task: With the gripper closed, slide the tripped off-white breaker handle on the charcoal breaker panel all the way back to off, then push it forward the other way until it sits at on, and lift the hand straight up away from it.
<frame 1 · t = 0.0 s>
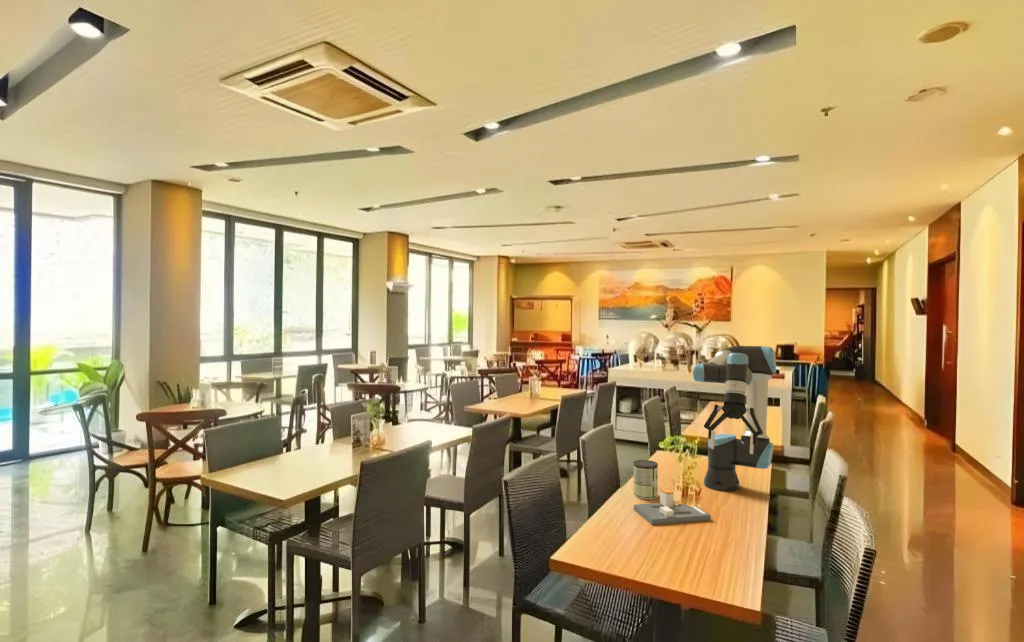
hand: (731, 451, 197), 28 cm above the table, tool tilted 20°, fingers open, 13 cm apart
breaker panel: (671, 514, 209), on the table
breaker handle: (666, 497, 213), point 5 cm above the table, slide at 4.0 cm
coffee can: (645, 496, 232), on the table
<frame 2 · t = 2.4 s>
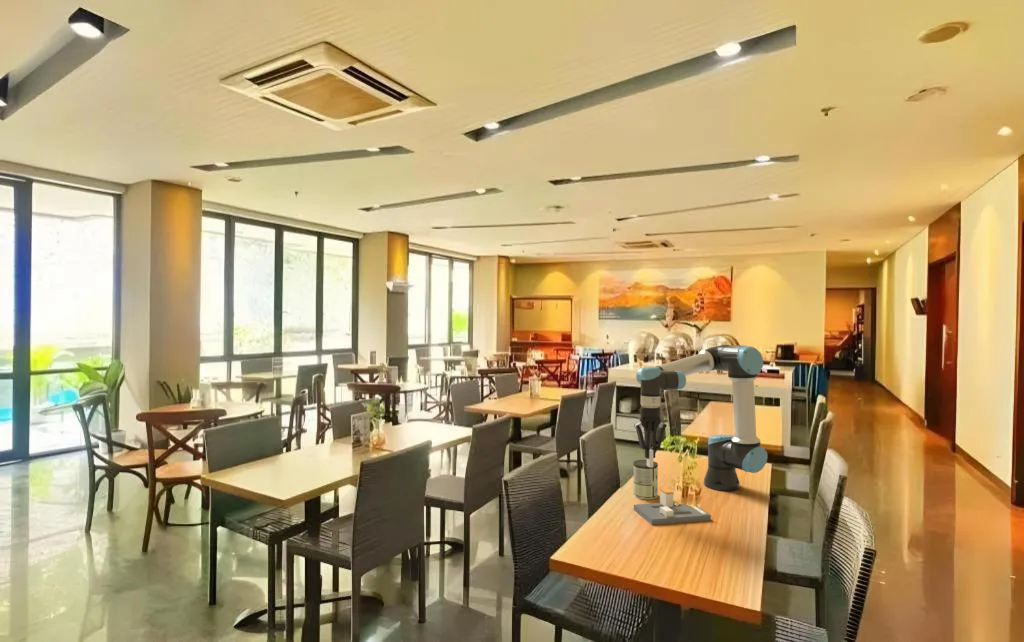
hand: (649, 466, 212), 18 cm above the table, tool pointing down, fingers closed
nothing on the table moved.
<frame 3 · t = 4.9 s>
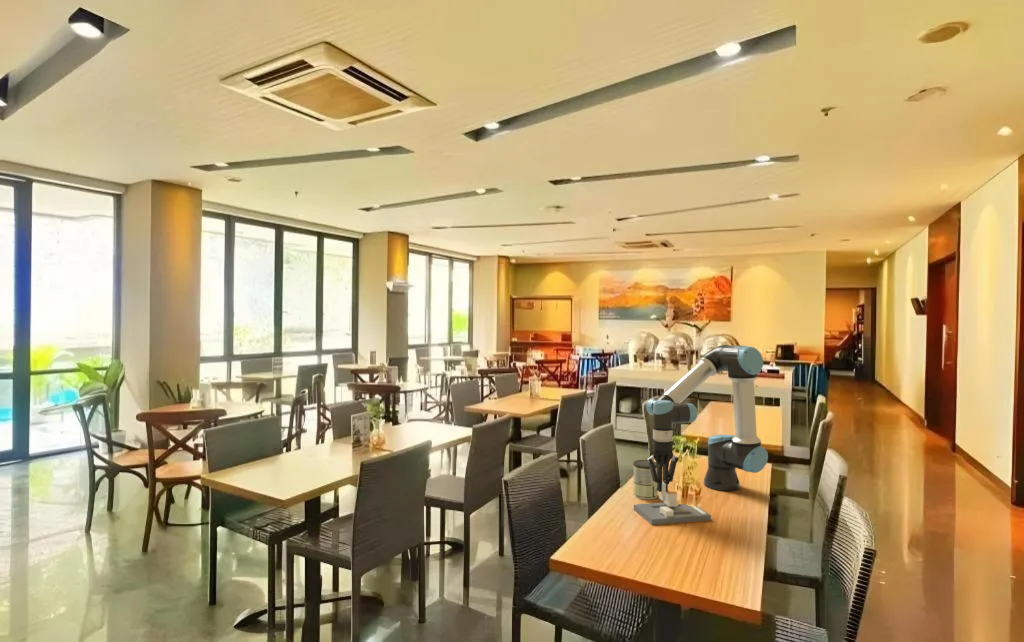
hand: (662, 499, 213), 5 cm above the table, tool pointing down, fingers closed
breaker handle: (670, 497, 214), point 5 cm above the table, slide at 2.4 cm, touching gripper
everything else where it was.
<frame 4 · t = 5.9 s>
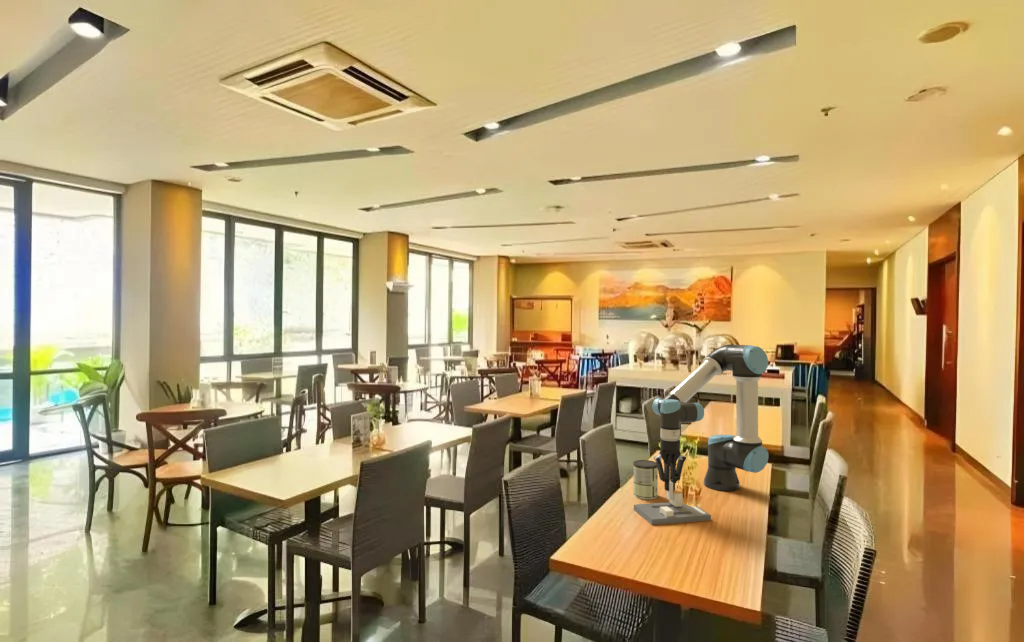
hand: (669, 498, 214), 5 cm above the table, tool pointing down, fingers closed
breaker handle: (675, 496, 214), point 5 cm above the table, slide at -0.1 cm
everything else where it was.
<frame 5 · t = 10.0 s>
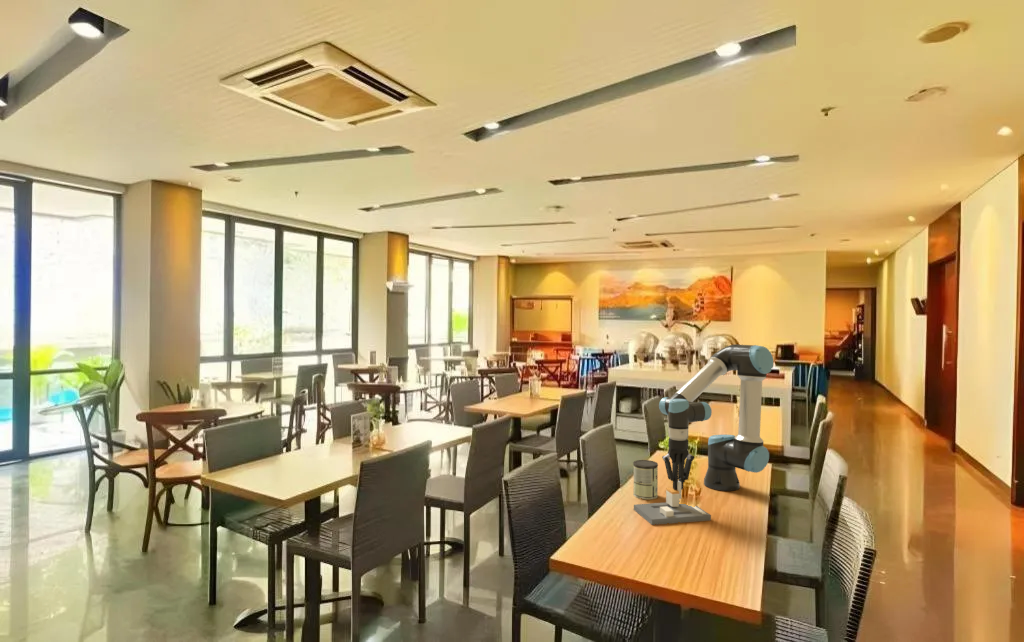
hand: (677, 497, 214), 5 cm above the table, tool pointing down, fingers closed
breaker handle: (672, 497, 214), point 5 cm above the table, slide at 1.3 cm, touching gripper
everything else where it was.
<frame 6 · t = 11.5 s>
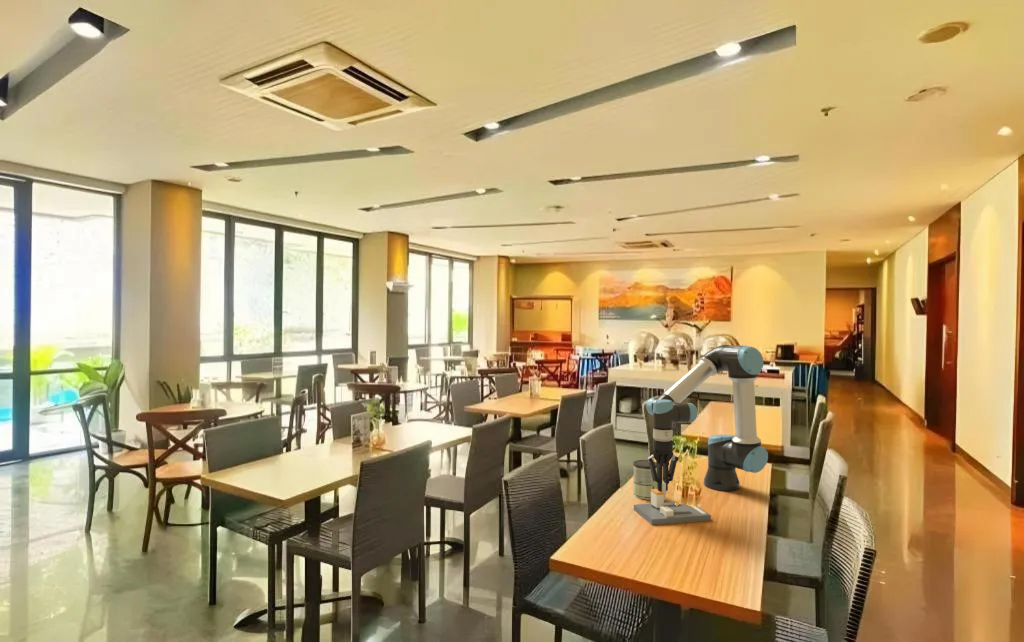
hand: (662, 498, 213), 5 cm above the table, tool pointing down, fingers closed
breaker handle: (657, 498, 213), point 5 cm above the table, slide at 7.9 cm, touching gripper
everything else where it was.
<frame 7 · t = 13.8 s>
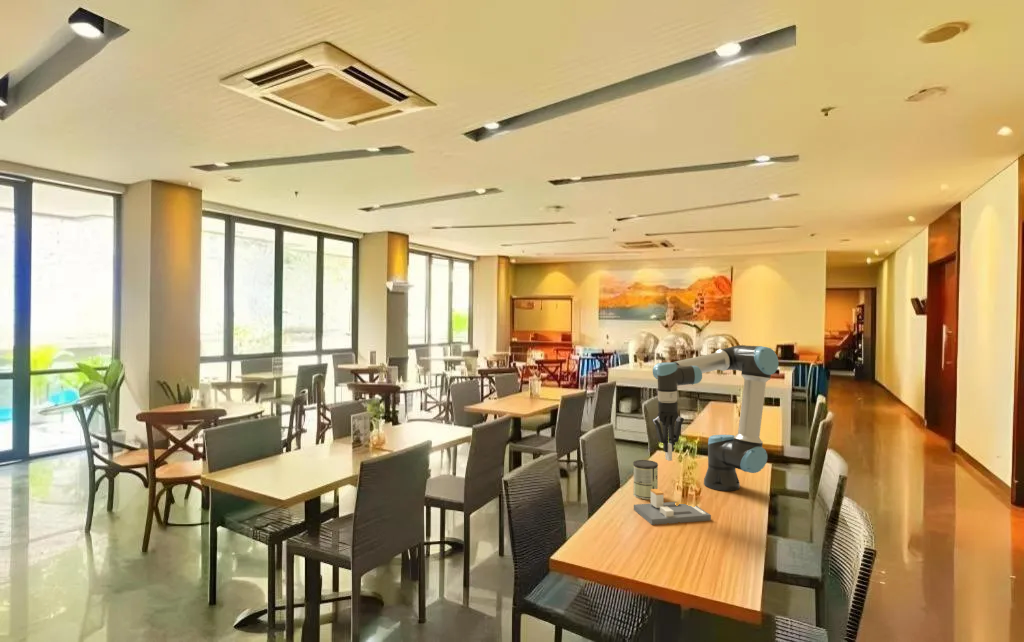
hand: (668, 459, 217), 19 cm above the table, tool pointing down, fingers closed
breaker handle: (656, 498, 213), point 5 cm above the table, slide at 8.0 cm
everything else where it was.
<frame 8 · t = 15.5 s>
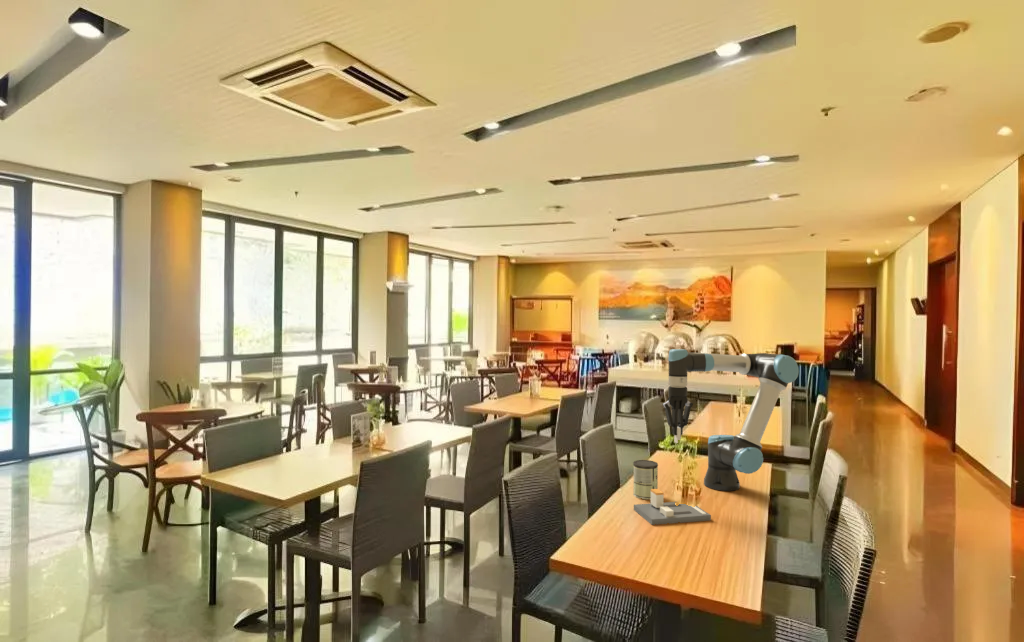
hand: (677, 442, 225), 24 cm above the table, tool pointing down, fingers closed
nothing on the table moved.
at the end: breaker handle slide at 8.0 cm; coffee can moved 0.2 cm from its start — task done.
